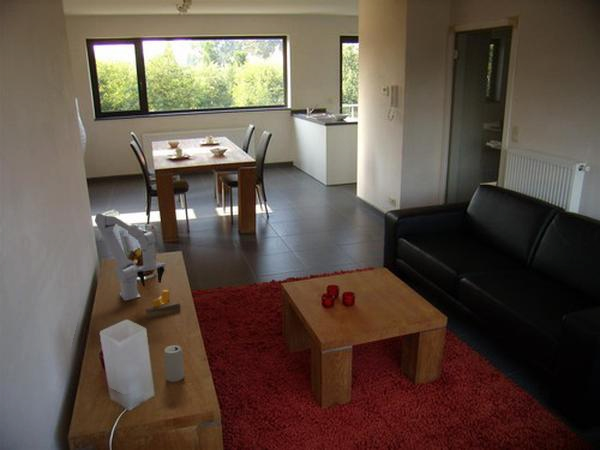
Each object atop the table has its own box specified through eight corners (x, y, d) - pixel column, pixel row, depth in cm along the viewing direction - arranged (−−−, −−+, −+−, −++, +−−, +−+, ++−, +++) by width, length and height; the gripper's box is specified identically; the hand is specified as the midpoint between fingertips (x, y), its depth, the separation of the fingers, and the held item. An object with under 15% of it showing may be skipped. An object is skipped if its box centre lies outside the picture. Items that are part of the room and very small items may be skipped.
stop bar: (146, 316, 228) (145, 309, 227) (178, 308, 236) (178, 301, 235) (148, 318, 226) (147, 311, 225) (180, 310, 234) (179, 303, 233)
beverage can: (185, 381, 179) (182, 351, 176) (166, 384, 177) (163, 354, 174) (183, 371, 185) (181, 343, 182) (165, 374, 183) (163, 345, 180)
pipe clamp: (161, 301, 243) (160, 289, 241) (169, 302, 242) (168, 290, 240) (150, 312, 232) (149, 300, 230) (159, 313, 231) (157, 300, 229)
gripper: (135, 262, 229) (138, 290, 232) (166, 256, 236) (169, 283, 240) (131, 258, 234) (134, 285, 238) (162, 252, 242) (164, 278, 246)
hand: (151, 284), depth 239 cm, fingers open, 7 cm apart
